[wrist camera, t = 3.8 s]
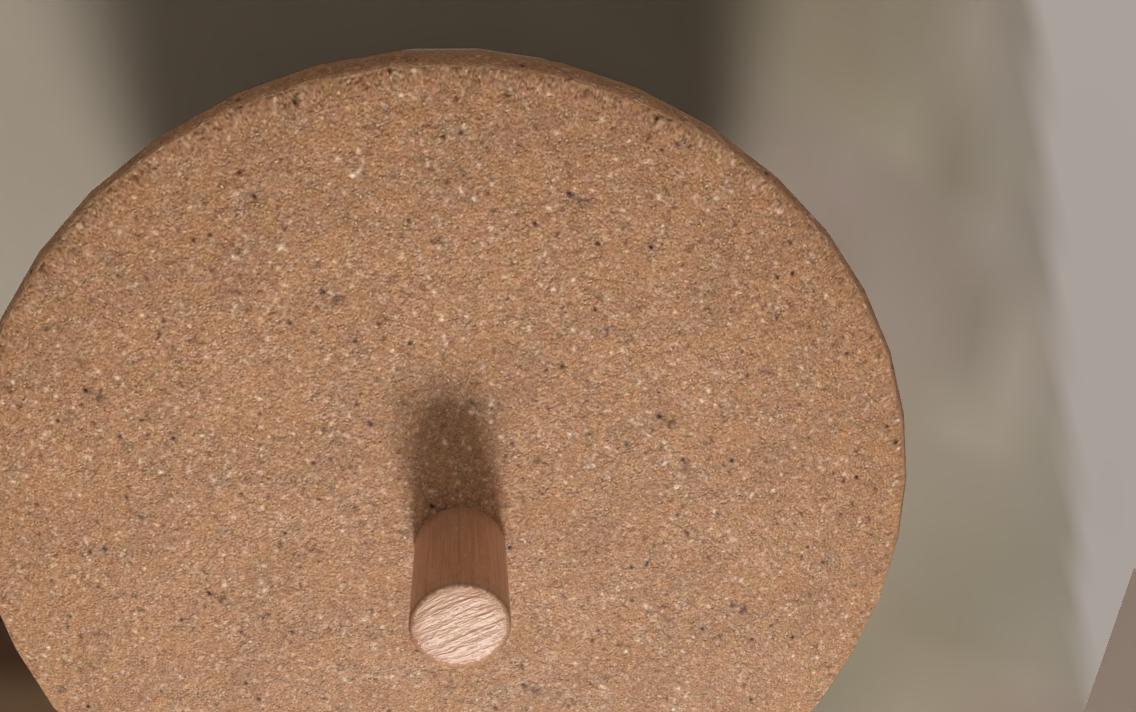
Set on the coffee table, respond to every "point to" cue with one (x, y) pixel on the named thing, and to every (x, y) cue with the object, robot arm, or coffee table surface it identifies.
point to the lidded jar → (443, 411)
